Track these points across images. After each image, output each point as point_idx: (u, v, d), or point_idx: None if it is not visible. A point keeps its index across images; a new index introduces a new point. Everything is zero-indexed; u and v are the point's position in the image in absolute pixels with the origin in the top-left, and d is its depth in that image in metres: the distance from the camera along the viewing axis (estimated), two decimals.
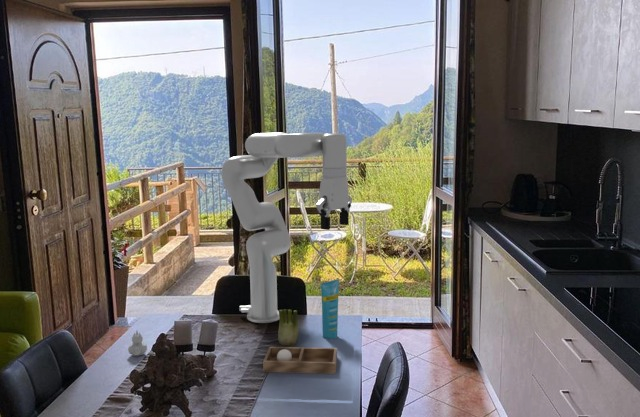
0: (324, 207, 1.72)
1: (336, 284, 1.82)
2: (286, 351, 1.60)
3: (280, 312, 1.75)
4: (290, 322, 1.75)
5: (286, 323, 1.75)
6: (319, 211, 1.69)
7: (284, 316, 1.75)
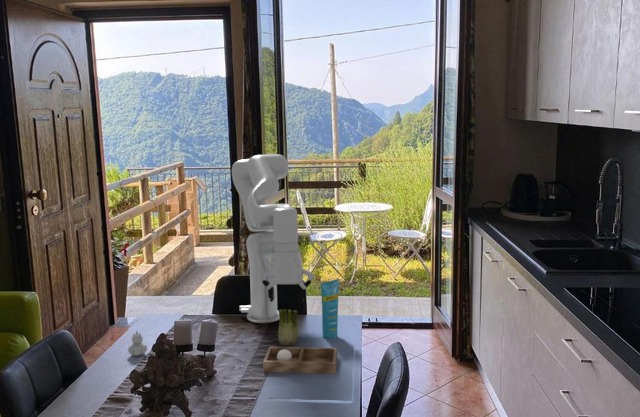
0: None
1: (336, 284, 1.82)
2: (286, 351, 1.60)
3: (280, 312, 1.75)
4: (290, 322, 1.75)
5: (286, 323, 1.75)
6: None
7: (284, 316, 1.75)
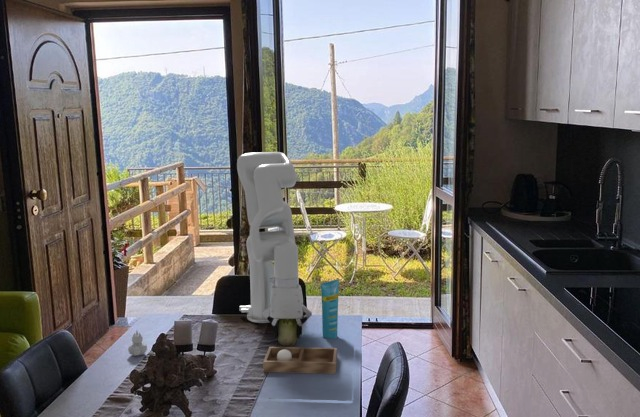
0: None
1: (336, 284, 1.82)
2: (286, 351, 1.60)
3: None
4: (290, 322, 1.75)
5: (286, 323, 1.75)
6: None
7: None
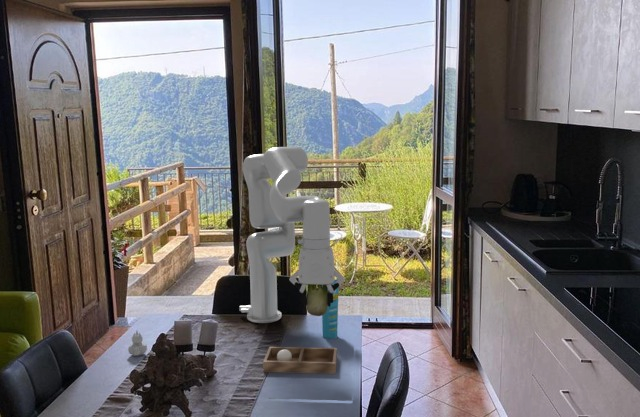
0: None
1: None
2: (286, 351, 1.60)
3: None
4: (320, 289, 1.57)
5: (315, 290, 1.57)
6: None
7: None
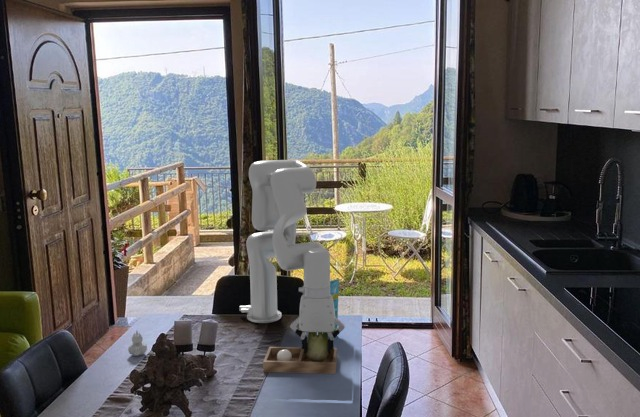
0: None
1: (336, 284, 1.82)
2: (286, 351, 1.60)
3: None
4: (320, 336, 1.59)
5: (316, 337, 1.59)
6: None
7: None
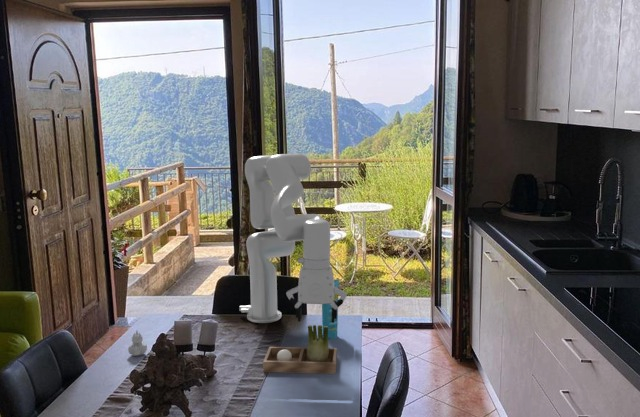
0: None
1: (336, 284, 1.82)
2: (286, 351, 1.60)
3: (309, 328, 1.59)
4: (320, 339, 1.59)
5: (316, 340, 1.59)
6: (343, 301, 1.57)
7: (314, 332, 1.59)
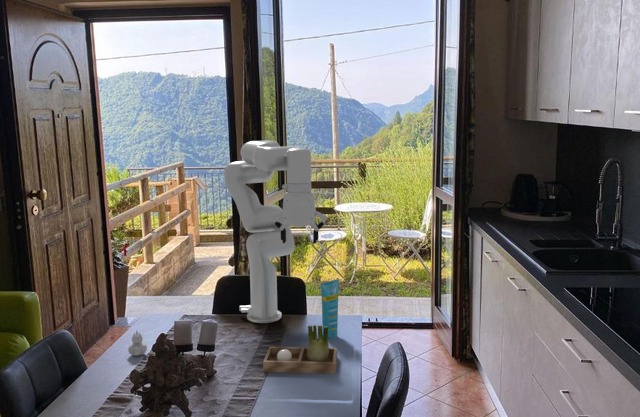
0: None
1: (336, 284, 1.82)
2: (286, 351, 1.60)
3: (309, 328, 1.59)
4: (320, 339, 1.59)
5: (316, 340, 1.59)
6: (323, 224, 1.72)
7: (314, 332, 1.59)
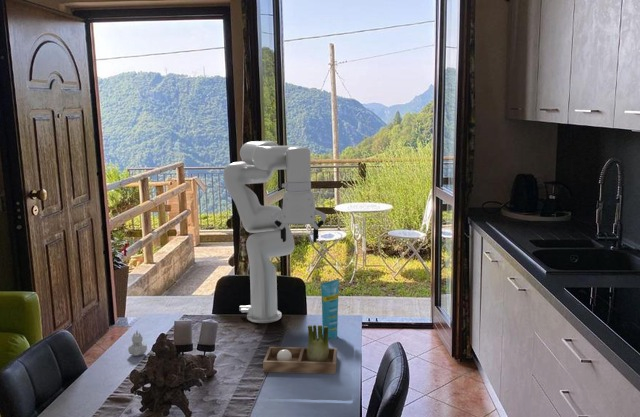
0: None
1: (336, 284, 1.82)
2: (286, 351, 1.60)
3: (309, 328, 1.59)
4: (320, 339, 1.59)
5: (316, 340, 1.59)
6: (323, 222, 1.72)
7: (314, 332, 1.59)
